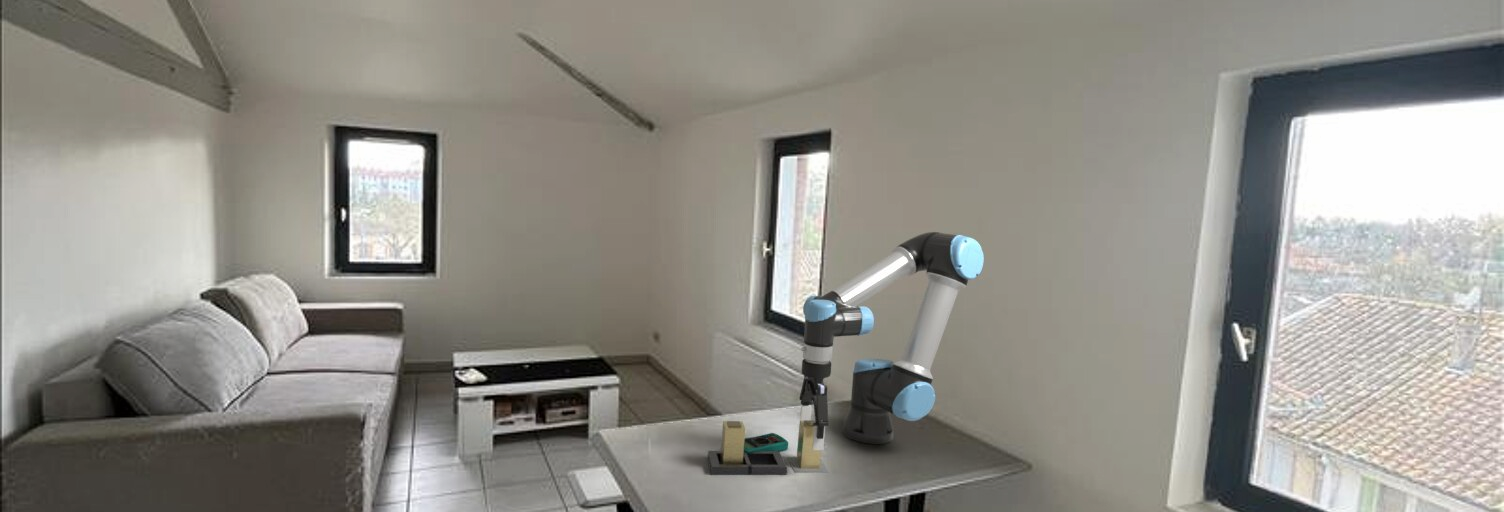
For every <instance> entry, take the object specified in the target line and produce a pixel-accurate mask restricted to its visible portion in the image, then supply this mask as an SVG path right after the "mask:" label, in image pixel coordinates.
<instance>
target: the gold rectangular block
mask: <svg viewBox="0 0 1504 512" xmlns="http://www.w3.org/2000/svg"><path fill="white" fill-rule="evenodd" d="M721 431H722V432H721V443H720V446H721V447H720V451H721V457H720V464H721V465H743V452H744V439H746V427H745V425H744V423H743V421H740V420H739V421H738V420H726V421H725V420H722V430H721Z"/></svg>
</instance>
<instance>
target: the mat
mask: <svg viewBox="0 0 1504 512" xmlns="http://www.w3.org/2000/svg"><path fill="white" fill-rule="evenodd" d="M786 459H787V461H788V462H789V464H790V466H791V468H792V469H793V472H794V473H803V474H804V473H805V474H808V473H813V474H814V473H817V474H818V473H823V474H824V473H830V471H829V470H828V467H826V465H825V464H824V462H823V460H822V459H821V458H820V468H819V469H801V468H800V466H799V464H798V463H797V461H796V459H797V456H796V457H787V458H786Z"/></svg>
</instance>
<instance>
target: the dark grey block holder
mask: <svg viewBox="0 0 1504 512" xmlns="http://www.w3.org/2000/svg"><path fill="white" fill-rule="evenodd" d="M780 452H781V451H780ZM780 452H779V451H753V452H746V451H744V452H743V465H721V464H720V457H721V450H707V462H708V466H709V470H710V475H711V476H787V475H788V474H787V473H788V466H787V464H786V462H785V460H784V458H783V456H782V454H781V453H780Z"/></svg>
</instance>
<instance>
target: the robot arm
mask: <svg viewBox="0 0 1504 512" xmlns="http://www.w3.org/2000/svg"><path fill="white" fill-rule="evenodd" d="M984 257H985V255H984V252H983V249H982V246H981V245H980V243H979V242H978V241H977V240H976V239H974V238H973V237H969V236H966V235H965V236H964V235H962V234H952V233H943V232H936V231H929V232H925V233H922V234H919V235H916V236H913V237H912V238H910V239H908V240H906V241H904V242H902V243H899V245H897V246H895V247H894V248H893V249H892V250H891V253H890V254H889V255H887V256H886V257H884V258H882V259H881V260H879V261H878V262H876V263H874V264H873V265H871V266H869V267H868V268H867V269H865V270H863V271H862V272H860V273H858V274H856V275H854V276H853V277H851V278H850V279H848V280H847V281H845V282H843V283H842V284H840V285H839V286H837V287H835V288H834V289H832V290H831V291H829V292H827V293H825V294H824V295H822V296H821V295H811V296H809V297H807V299H806V300H805V301H804V303H803V306H802V310H803V316H804V335H803V346H801V348H800V349H801V351H802V358H803V359H802V360H801V361H802V362H801V374H802V375H803V382H802V386H801V389H800V393H799V401H800V405H801V407H800V417H799V418H800V420H799V422H800V421H804V420H812V408H813V411H814V412H813V413H814V421H815V422H816V423H813V426H814V433H813V446H812V449H813V450H821V451H824V449H825V437H826V436H825V434H826V427H829V425H830V423H829V409H828V386H827V385H825V383H824V380H825V379H828V378H829V377H831V373H832V362H831V361H832V360H833V351H834V337H849V336H850V337H851V336H856V337H857V336H863V335H867V334H869V333H870V332H871V331H873V328H874V326H875V325H874V322H875V318H874V317H875V316H874V314H873V312H872V310H871V309H870V308H869V307H867V306H860V304H862V303H863V302H865V301H867V300H869V299H870V298H872V297H874V296H875V295H876V294H878V293H880V292H881V291H883V290H885V289H886V288H888V287H889V286H891V285H892V284H894V283H895V282H897V281H899V280H900V279H902V278H903V277H905V276H909V277H910V276H913V275H915V274H916V273H918V272H923V271H926V272H925V275H926V277H927V279H928V283H927V285H926V287H925V291H924V294H923V297H922V299H921V302H920V304H919V307H918V310H917V313H916V316H915V319H914V322H913V325H912V326H911V330H910V332H909V335H908V338H907V341H906V343H905V345H904V348H903V352H902V354H901V357H900V359H899V360H897V361H895V362H894V361H892V360H890V359H884V358H883V359H882V358H863V359H859V360H857V361H855V363H854V369H853V371H852V384H851V385H852V386H851V396H850V397H851V399H850V405H849V406H850V407H849V409H848V411H847V414H846V417H845V418H844V420H843V423H842V429H841V430H842V434H843V435H844V436H845V437H847V438H848V439H850V440H853V441H856V442H860V443H865V444H872V445H873V444H874V445H876V444H877V445H879V444H882V445H883V444H886V443H890V442H892V441H893V439H894V427H893V423H892V417H891V414H892V415H894V416H895V417H897V418H900V419H903V420H906V421H909V422H916V421H919V420H921V419H922V418H924V417H926V416H927V415H928V414H929V412H930V411H931V410H932V408H933V407H934V404H935V401H936V394H935V393H936V392H935V389H934V387H933V386H932V382H933V380H934V377H933V375H932V373H931V369H932V367H933V363H934V360H935V357H936V355H937V352H938V350H939V347H940V343H941V341H942V337H943V334H944V333H945V330H946V327H947V325H948V321H949V318H950V315H951V313H952V310H953V307H954V305H955V302H956V299H957V296H958V294H959V292H960V291H961V290H963V289H965V288H966V287H967V285H968V283H969V280H973V279H975V278H977V276H979V275H980V274H981V272H982V270H983V266H984V262H985V260H984Z"/></svg>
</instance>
